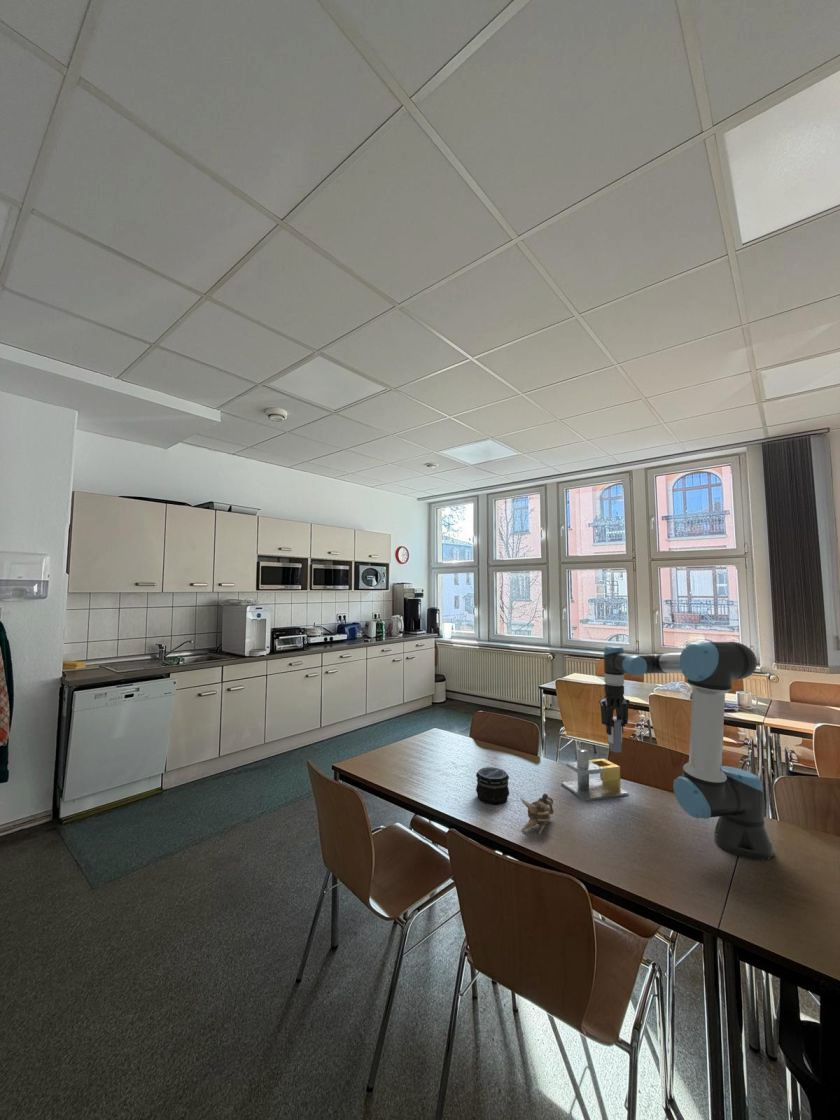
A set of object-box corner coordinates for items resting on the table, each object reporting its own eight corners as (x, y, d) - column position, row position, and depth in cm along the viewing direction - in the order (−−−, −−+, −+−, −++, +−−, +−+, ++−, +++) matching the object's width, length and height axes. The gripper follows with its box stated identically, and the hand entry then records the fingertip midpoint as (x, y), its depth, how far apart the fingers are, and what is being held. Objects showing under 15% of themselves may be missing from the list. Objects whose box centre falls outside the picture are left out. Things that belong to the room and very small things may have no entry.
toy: (564, 825, 155) (542, 839, 144) (542, 819, 160) (520, 831, 150) (562, 792, 157) (540, 802, 146) (541, 787, 162) (518, 796, 152)
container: (506, 808, 165) (506, 780, 166) (472, 803, 170) (472, 776, 170) (511, 794, 177) (511, 768, 178) (479, 790, 182) (479, 764, 182)
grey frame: (628, 795, 178) (627, 753, 180) (586, 801, 172) (585, 758, 174) (600, 779, 193) (600, 741, 195) (561, 784, 188) (560, 745, 189)
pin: (622, 752, 182) (621, 719, 183) (614, 752, 181) (614, 720, 182) (615, 749, 186) (615, 717, 187) (608, 749, 185) (607, 717, 186)
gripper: (624, 681, 191) (625, 737, 190) (591, 683, 187) (592, 740, 185) (637, 685, 184) (638, 743, 182) (603, 686, 180) (604, 746, 178)
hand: (615, 742), depth 184 cm, fingers closed on pin, 3 cm apart
